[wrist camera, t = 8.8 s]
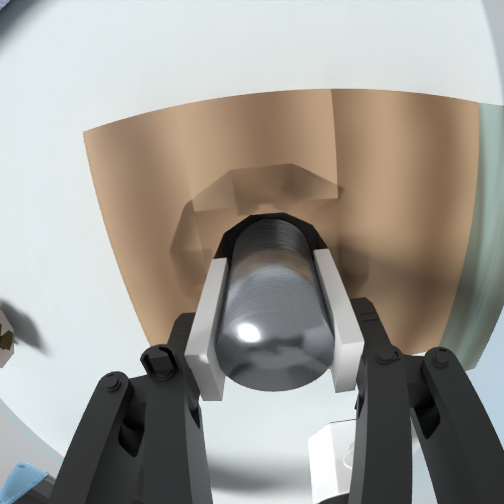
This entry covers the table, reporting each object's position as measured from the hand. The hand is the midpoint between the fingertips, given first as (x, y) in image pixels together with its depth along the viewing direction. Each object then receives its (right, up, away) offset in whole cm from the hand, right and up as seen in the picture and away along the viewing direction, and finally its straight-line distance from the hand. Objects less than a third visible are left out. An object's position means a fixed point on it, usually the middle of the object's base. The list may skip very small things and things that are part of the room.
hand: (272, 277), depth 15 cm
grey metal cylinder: (0, +1, +2) cm, 2 cm away
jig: (+3, +2, +3) cm, 5 cm away
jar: (+10, -21, +15) cm, 28 cm away
